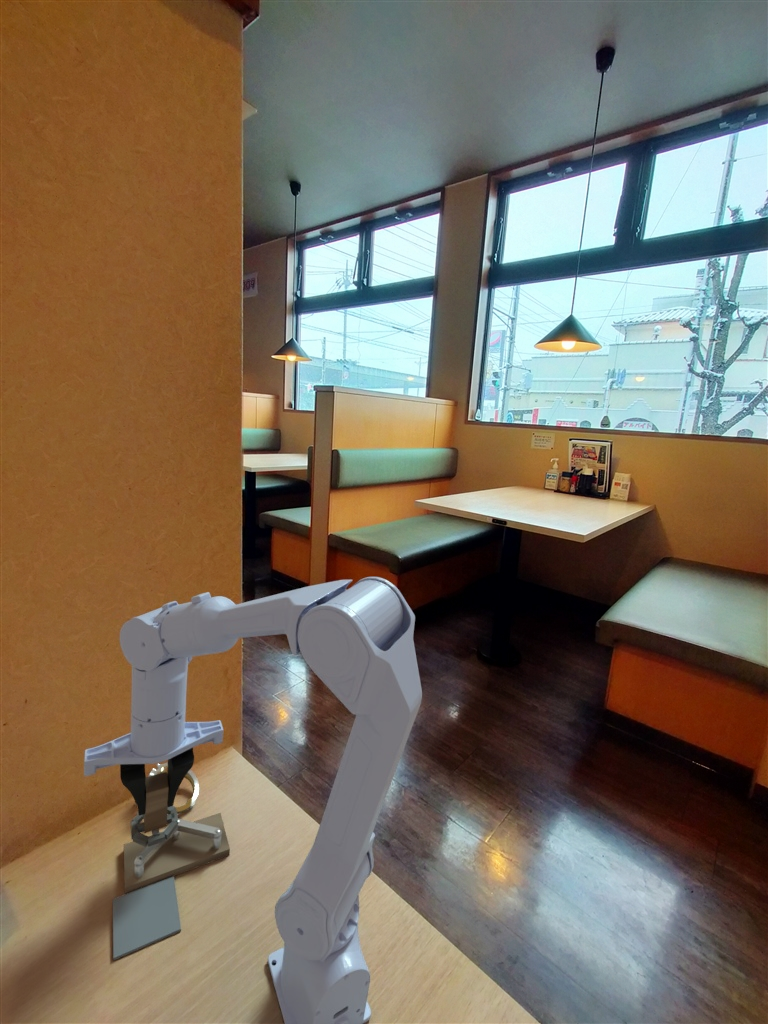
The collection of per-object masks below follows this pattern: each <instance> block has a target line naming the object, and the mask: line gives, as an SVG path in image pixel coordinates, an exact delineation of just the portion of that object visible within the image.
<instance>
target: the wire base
mask: <svg viewBox="0 0 768 1024" xmlns="http://www.w3.org/2000/svg"><path fill="white" fill-rule="evenodd" d="M223 821H224V820H223V818H222V812H218V813H216V814H213V815H210V816H206V817H203V818H201V819H197V820H195V821H193V822H195V823H200V824H204V825H208V826H212V827H217V828H220V830H221V831H222V835H221V846H220V848H219V849H218V850H213V848H212V846H213V839H210V838H206V837H202V836H197V835H193V834H189V833H185V832H181V831H180V838H179V839H178V840H172V836H171V837H170V838H169V839H168V840H167V841H166V842H165V843H164V844H163V845H162V846H161V847H160V848H159V849H158V850H157V851H156V852H155V853H154V854H153V855H152V856H151V857H150V858H149V859H148V860H147V862H146V863H145V864H144V875H143V876H142V877H141V878H139V879H136V878H135V877H134V875H135V864H134V861H135V859H136V857H137V856H138V855H139V854H140V853H141V852H142V851H143V850H144V849H145V848H146V847H147V846H148V844H147V845H146V847H145V846H142V845H140V844H138V843H136V842H133V841H130V842H127V843H126V842H125V844H123V871H124V876H123V877H124V895H125V894H128V893H130V892H133V891H136V890H138V889H141V888H143V887H146V886H149V885H151V884H154V883H157V882H159V881H162V880H165V879H167V878H170V877H173V876H174V877H175V876H178V875H180V874H184V873H185V872H187V871H190V870H193V869H197V868H199V867H201V866H202V867H203V866H204V865H208V864H209V863H212V862H215V861H217V860H220V859H223V858H226V857H228V856H230V853H231V852H230V851H231V850H230V849H231V848H230V844H229V840H228V835H227V834H226V830H225V825H224V822H223ZM161 832H162V831H159V833H161ZM150 836H152V835H150Z"/></svg>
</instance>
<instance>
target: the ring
mask: <svg viewBox="0 0 768 1024" xmlns="http://www.w3.org/2000/svg"><path fill="white" fill-rule="evenodd" d="M155 766H156V767H157V768H152V770H151V771H150V772H149V773H148V777H149V776H152V775H156V774H160V773H164V772H167V770H166V769H168V761H167V762H164V763H160V764H159V763H156V765H155ZM184 779H186V780H187V781H188V782H189V784H191V787H192V796H191V797H190V798H188V799H187V800H186V801H187V802H186V803H185V804H184V805H181V806H174V807H175V809H176V808H177V815H180V814H183V813H185V812H187V811H188V810H191V809H192V808H193V807H194V806H195V804H196V800H197V798H198V796H199V792H200V783H199V779H198V777H197V776H196V774H195V773H194V771H193V770H192V769H190V770H189V771H188V773H187V774H186V776H185V777H184Z"/></svg>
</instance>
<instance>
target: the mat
mask: <svg viewBox="0 0 768 1024" xmlns="http://www.w3.org/2000/svg"><path fill="white" fill-rule="evenodd" d="M180 918H181V917H180V911H179V904H178V897H177V889H176V881H175V876H173V877H170V878H167V879H165V880H162V881H159V882H157V883H154V884H151V885H149V886H146V887H143V888H141V889H138V890H136V891H133V892H130V893H128V894H125V893H124V894H122V895H120V896H118V897H115V898H112V930H113V931H112V939H113V940H112V946H113V948H112V949H113V950H112V951H113V958H112V959H113V961H115V960H117V959H120V958H123V957H125V956H126V955H128V954H131V953H134V952H137V951H138V950H141V949H143V948H145V947H147V946H150V945H152V944H154V943H157V942H158V941H161V940H163V939H165V938H168V937H170V936H172V935H175V934H177V933H179V932H181V931H182V927H181V919H180Z"/></svg>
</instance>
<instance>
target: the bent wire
mask: <svg viewBox="0 0 768 1024" xmlns="http://www.w3.org/2000/svg"><path fill="white" fill-rule="evenodd" d="M168 826H169V824H167V826H166V827H164V829H163V830H162V831H160V832H161V833H162V832H164V830H165V829H166V828H167V827H168ZM180 831H181V832H185V833H189V834H193V835H197V836H202V837H206V838H210V839H213V846H212V848H213V850H218V849H219V848H220V846H221V835H222V831H221V830H220V828H217V827H212V826H208V825H204V824H200V823H195V822H194V821H191V820H186V819H184V818H183V819H182V818H178V825H177V828H176V829H175V830H174V832H173V833H172V834H171V835H170V837H171V836H172V840H178V839H179V838H180ZM170 837H169V838H170ZM169 838H168V839H169ZM168 839H165V841H164V842H161V843H158V844H155V845H152V846H149V847H148V846H147V847H146V848H145V849H144V850H143V851H142V852H141V853H140V854H139V855H138V856H137V857H136V859H135V861H134V864H135V875H134V877H135V878H136V879H139V878H141V877H142V876H143V875H144V864H145V863H146V862H147V860H148V859H149V858H150V857H151V856H152V855H153V854H154V853H155V852H156V851H157V850H158V849H159V848H160V847H161V846H162V845H163V844H164V843H165V842H166V841H167V840H168Z"/></svg>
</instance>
